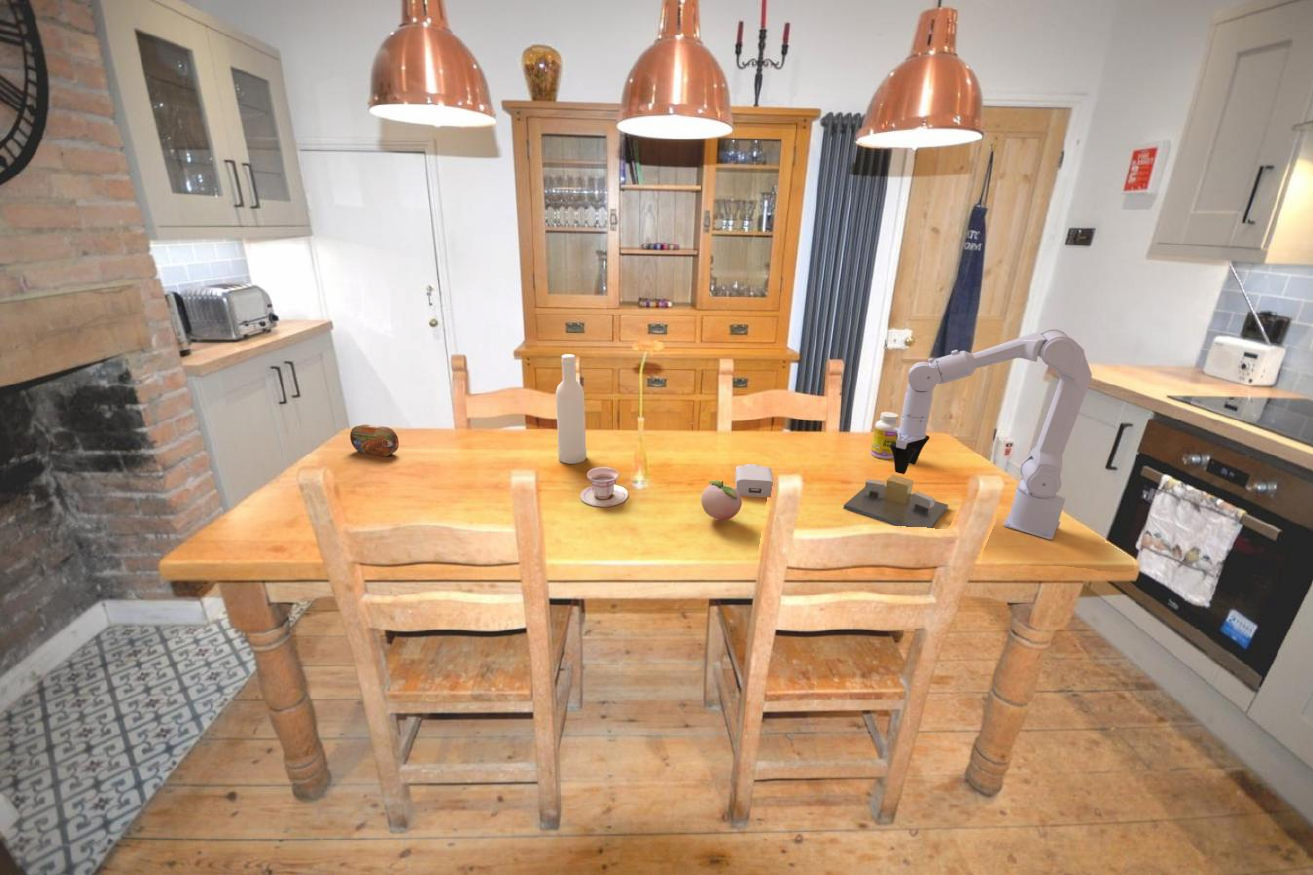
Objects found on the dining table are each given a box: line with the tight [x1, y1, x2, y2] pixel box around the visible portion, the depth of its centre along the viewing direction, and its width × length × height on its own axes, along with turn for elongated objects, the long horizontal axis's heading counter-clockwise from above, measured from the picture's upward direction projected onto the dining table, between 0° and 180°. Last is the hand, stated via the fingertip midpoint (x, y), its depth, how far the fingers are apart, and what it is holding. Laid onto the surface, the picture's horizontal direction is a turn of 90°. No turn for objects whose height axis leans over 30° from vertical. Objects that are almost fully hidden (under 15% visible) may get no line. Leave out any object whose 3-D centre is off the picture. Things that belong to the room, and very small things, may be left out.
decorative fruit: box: [700, 479, 743, 522], centre depth 128 cm, size 9×8×10 cm
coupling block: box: [884, 474, 914, 504], centre depth 139 cm, size 5×4×5 cm
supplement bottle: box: [870, 411, 900, 460], centre depth 166 cm, size 7×7×13 cm
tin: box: [349, 424, 400, 457], centre depth 163 cm, size 15×3×8 cm, turn 73°
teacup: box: [579, 466, 629, 508], centre depth 140 cm, size 12×12×6 cm
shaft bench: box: [843, 478, 949, 529], centre depth 136 cm, size 19×17×4 cm
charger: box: [734, 463, 774, 498], centre depth 148 cm, size 5×9×15 cm
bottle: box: [555, 354, 587, 465], centre depth 157 cm, size 8×8×30 cm
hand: (905, 467), depth 136 cm, fingers open, 7 cm apart
